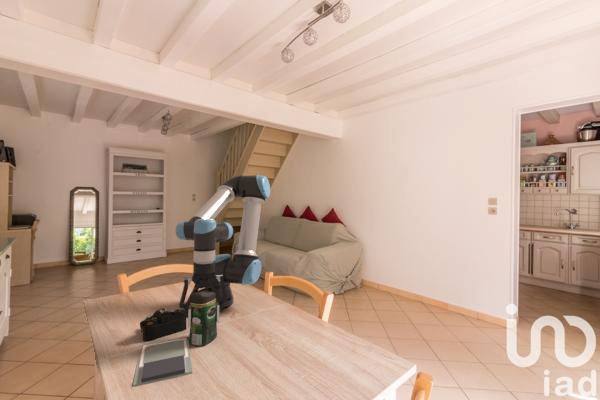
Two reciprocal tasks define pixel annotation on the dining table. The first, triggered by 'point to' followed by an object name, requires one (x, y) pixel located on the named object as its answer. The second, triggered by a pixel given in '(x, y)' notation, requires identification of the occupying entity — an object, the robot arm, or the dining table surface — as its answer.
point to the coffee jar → (203, 317)
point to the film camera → (163, 324)
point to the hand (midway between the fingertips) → (203, 323)
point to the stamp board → (163, 356)
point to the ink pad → (163, 369)
